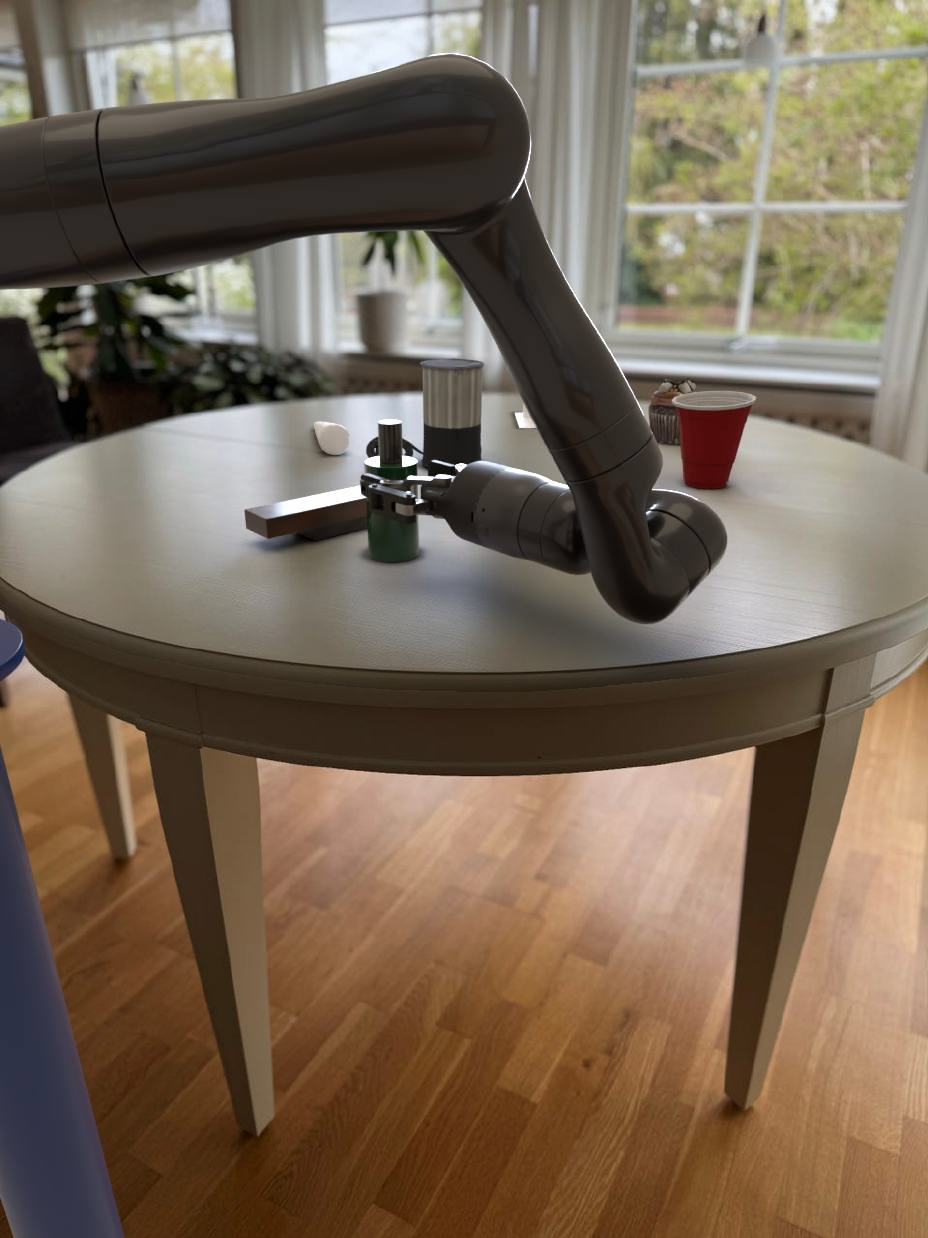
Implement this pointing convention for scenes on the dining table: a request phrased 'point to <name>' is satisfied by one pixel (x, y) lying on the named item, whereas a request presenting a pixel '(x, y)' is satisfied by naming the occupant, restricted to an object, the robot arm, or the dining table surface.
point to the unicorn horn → (332, 437)
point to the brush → (311, 515)
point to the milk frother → (448, 413)
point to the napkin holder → (524, 419)
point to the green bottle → (384, 533)
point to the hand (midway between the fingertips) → (397, 476)
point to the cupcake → (667, 410)
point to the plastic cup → (711, 434)
